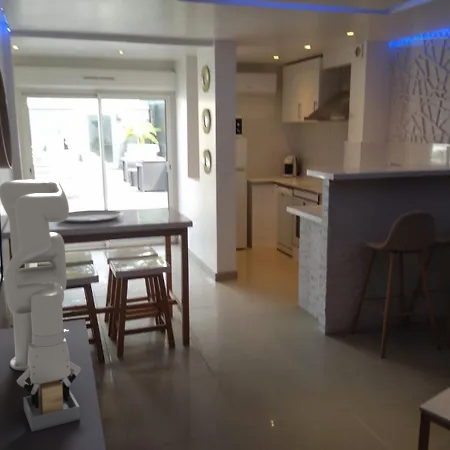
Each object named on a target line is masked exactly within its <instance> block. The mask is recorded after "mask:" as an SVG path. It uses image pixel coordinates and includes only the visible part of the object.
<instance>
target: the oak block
mask: <svg viewBox="0 0 450 450" xmlns="http://www.w3.org/2000/svg"><path fill="white" fill-rule="evenodd" d="M62 384H63V383H62V382H61V381H60V380H54V381H50V382H45V383H40V384H39V387H38V394H39V403H40V412H41V414H42V415H44V414H48V413H52V412H56V411H60V410H63V390H62Z"/></svg>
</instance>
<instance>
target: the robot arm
mask: <svg viewBox="0 0 450 450" xmlns="http://www.w3.org/2000/svg"><path fill="white" fill-rule="evenodd" d="M0 202H1V205H2V207H3V209H4V211H5V214H6V216H7V218H8V222H9V235H10V249H11V250H10V251H11V256H12V257H11V259H10V261H9V262H8V264H7V266H6V269H5V273H4V284H5V285H4V286H5V299H6V304H7V307H8V310H9V311H10V312H11V313H12V320H13V321H12V322H13V339H14V357H13V358H11V359H10V367H11V368H12V369H13V370H16V371H24V372H23V373H22V374H21V375H20V376H19V377H18V379H16V382H17V383H16V384H18V385H19V386H20V387H22V388H23V389H24V390H26V391H28V393H30V396H31V402H32V405H33V404H34V405H35V408H38V407H39V400H38V394H39V392H38V390H39V384H40V383H45V382H50V381H54V380H59V379H62V381H63V382H62V383H61V384H62V390H63V399H64V400H65V401H68V396H70V391H71V390H70V389H71V388H70V387H71V385H72V383H73V382H74V381H75V380H76V379H77V377H78V375H79V373H80V372H81V371H82V368H81V366H79V365H78V364H75V362H72V361H71V359H70V352H69V348H68V343H67V339H66V336H70V331H69V329H64V321H63V320H64V318H63V313H64V312H63V302H64V300H65V290H66V289H67V281H68V280H67V262H66V260H67V259H66V248H65V245H66V244H65V241H64V239H63V236H62V235H61V234H60V233H58V232H53V231H50V223H58V222H59V223H60V222H65V221H66V220H67V219H68V218H69V214H70V208H69V206H70V205H69V201H68V199H67V195H66V194H65V190H64V189H63V187H62V185H61V184H60V182H59V181H58V180H57V179H56V180H55V179H16V180H15V179H12V180H8V181H4V182H3V183H1V184H0ZM38 263H39V264H41V263H50V265H42V266H31V267H22V268H21V266H23V265H26V264H27V265H31V264H38ZM71 370H73V371H71ZM27 379H30V383H29V382H26V380H27Z"/></svg>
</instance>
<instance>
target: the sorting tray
mask: <svg viewBox="0 0 450 450" xmlns="http://www.w3.org/2000/svg"><path fill="white" fill-rule="evenodd" d="M22 399H23V410H24V414H25V417H26V418H27V421H28V422H27V423H28V424H29V428H30V431H31V432H32V433H33V432H36V431H40V430H41V431H42V430H44V429H50V428H52V427H56V426H57V427H58V426H61V425H63V424H67V423H71V422H75V421H80V420H81V414H80V413H81V411H80V410H81V409H80V408H81V407H80V405H79V403H78V402H77V400H76V398H75V396H74V394H73V393H72V391H71V390H70V396H68V401H65V400H64V399H63V410H60V411H56V412H52V413H48V414H44V415H42V414H41V412H40V403H39V407H38V408H35V405H34V404H33V405H32V402H31V395H29V396H23V398H22ZM38 400H39V393H38Z"/></svg>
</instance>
